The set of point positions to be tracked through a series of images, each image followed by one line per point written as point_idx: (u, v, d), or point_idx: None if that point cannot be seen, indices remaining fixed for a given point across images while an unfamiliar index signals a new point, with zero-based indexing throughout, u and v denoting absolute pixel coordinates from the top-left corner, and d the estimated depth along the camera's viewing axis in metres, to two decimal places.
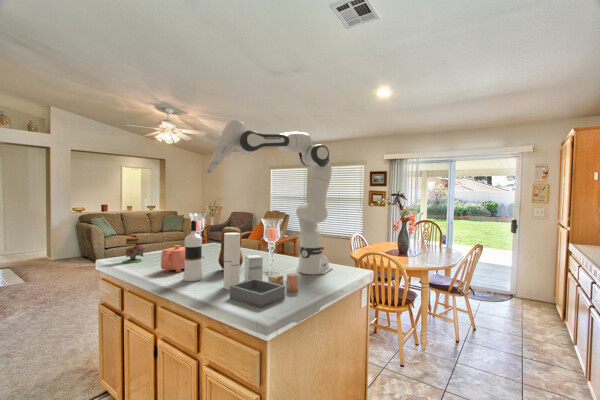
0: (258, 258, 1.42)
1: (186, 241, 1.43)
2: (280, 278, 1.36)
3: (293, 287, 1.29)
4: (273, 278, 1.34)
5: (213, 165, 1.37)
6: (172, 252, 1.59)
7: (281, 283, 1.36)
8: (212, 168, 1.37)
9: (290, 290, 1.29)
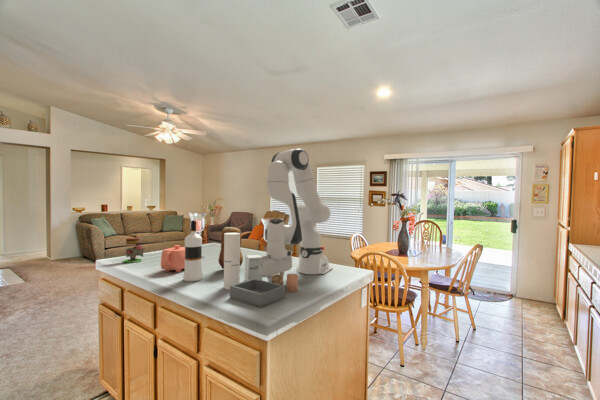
0: (258, 258, 1.42)
1: (186, 241, 1.43)
2: (280, 278, 1.36)
3: (293, 287, 1.29)
4: (273, 278, 1.34)
5: (268, 278, 1.33)
6: (172, 252, 1.59)
7: (281, 283, 1.36)
8: (270, 281, 1.34)
9: (290, 290, 1.29)
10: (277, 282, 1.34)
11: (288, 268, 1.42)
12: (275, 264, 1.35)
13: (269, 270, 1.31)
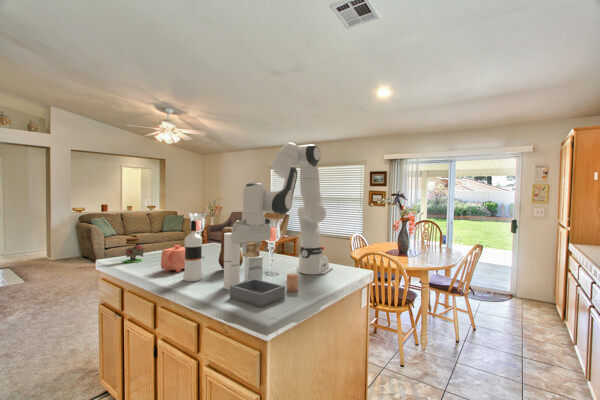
0: (258, 258, 1.42)
1: (186, 241, 1.43)
2: (256, 247, 1.23)
3: (293, 287, 1.29)
4: (248, 246, 1.21)
5: (242, 247, 1.20)
6: (172, 252, 1.59)
7: (257, 253, 1.23)
8: (244, 250, 1.20)
9: (290, 290, 1.29)
10: (252, 251, 1.21)
11: (266, 238, 1.28)
12: (251, 231, 1.21)
13: (243, 236, 1.18)
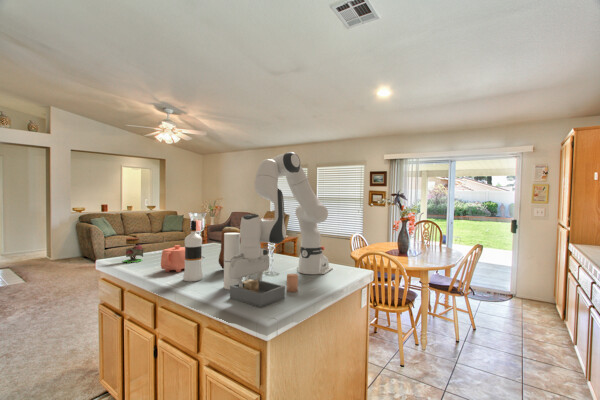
0: None
1: (186, 241, 1.43)
2: (255, 284, 1.22)
3: (293, 287, 1.29)
4: (247, 284, 1.21)
5: (238, 281, 1.18)
6: (172, 252, 1.59)
7: (256, 290, 1.23)
8: (240, 284, 1.19)
9: (290, 290, 1.29)
10: (251, 289, 1.20)
11: (265, 269, 1.28)
12: (249, 264, 1.21)
13: (241, 270, 1.17)
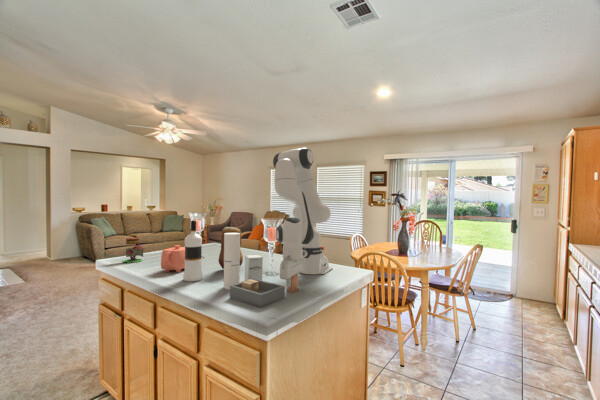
0: (258, 258, 1.42)
1: (186, 241, 1.43)
2: (255, 284, 1.22)
3: (293, 287, 1.29)
4: (247, 284, 1.21)
5: (287, 281, 1.27)
6: (172, 252, 1.59)
7: (256, 290, 1.23)
8: (288, 283, 1.27)
9: (290, 290, 1.29)
10: (251, 289, 1.20)
11: (301, 268, 1.37)
12: (294, 265, 1.29)
13: (290, 271, 1.24)
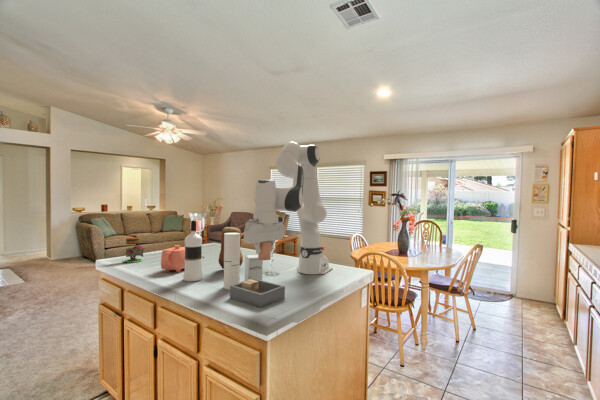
0: None
1: (186, 241, 1.43)
2: (255, 284, 1.22)
3: (263, 255, 1.15)
4: (247, 284, 1.21)
5: (255, 247, 1.14)
6: (172, 252, 1.59)
7: (256, 290, 1.23)
8: (257, 250, 1.15)
9: (260, 258, 1.16)
10: (251, 289, 1.20)
11: (279, 237, 1.23)
12: (264, 230, 1.16)
13: (256, 236, 1.12)
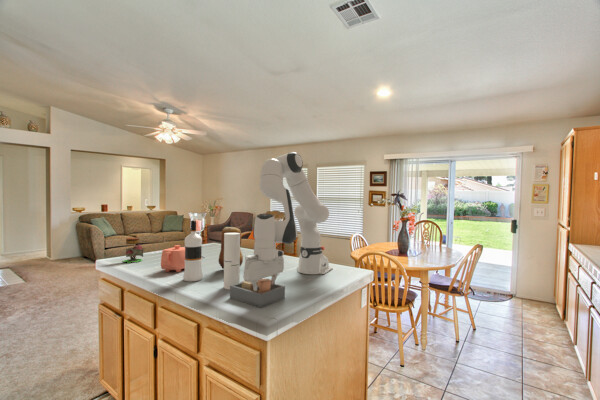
0: None
1: (186, 241, 1.43)
2: None
3: None
4: (247, 284, 1.21)
5: (253, 284, 1.13)
6: (172, 252, 1.59)
7: None
8: (254, 287, 1.14)
9: None
10: (251, 289, 1.20)
11: (279, 271, 1.23)
12: (264, 266, 1.16)
13: (256, 273, 1.12)
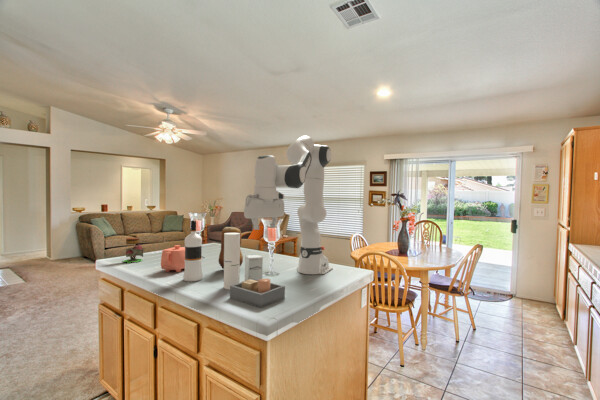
0: (258, 258, 1.42)
1: (186, 241, 1.43)
2: (255, 284, 1.22)
3: None
4: (247, 284, 1.21)
5: (253, 222, 1.13)
6: (172, 252, 1.59)
7: (256, 290, 1.23)
8: (255, 226, 1.13)
9: None
10: (251, 289, 1.20)
11: (280, 214, 1.23)
12: (264, 206, 1.15)
13: (257, 211, 1.12)
